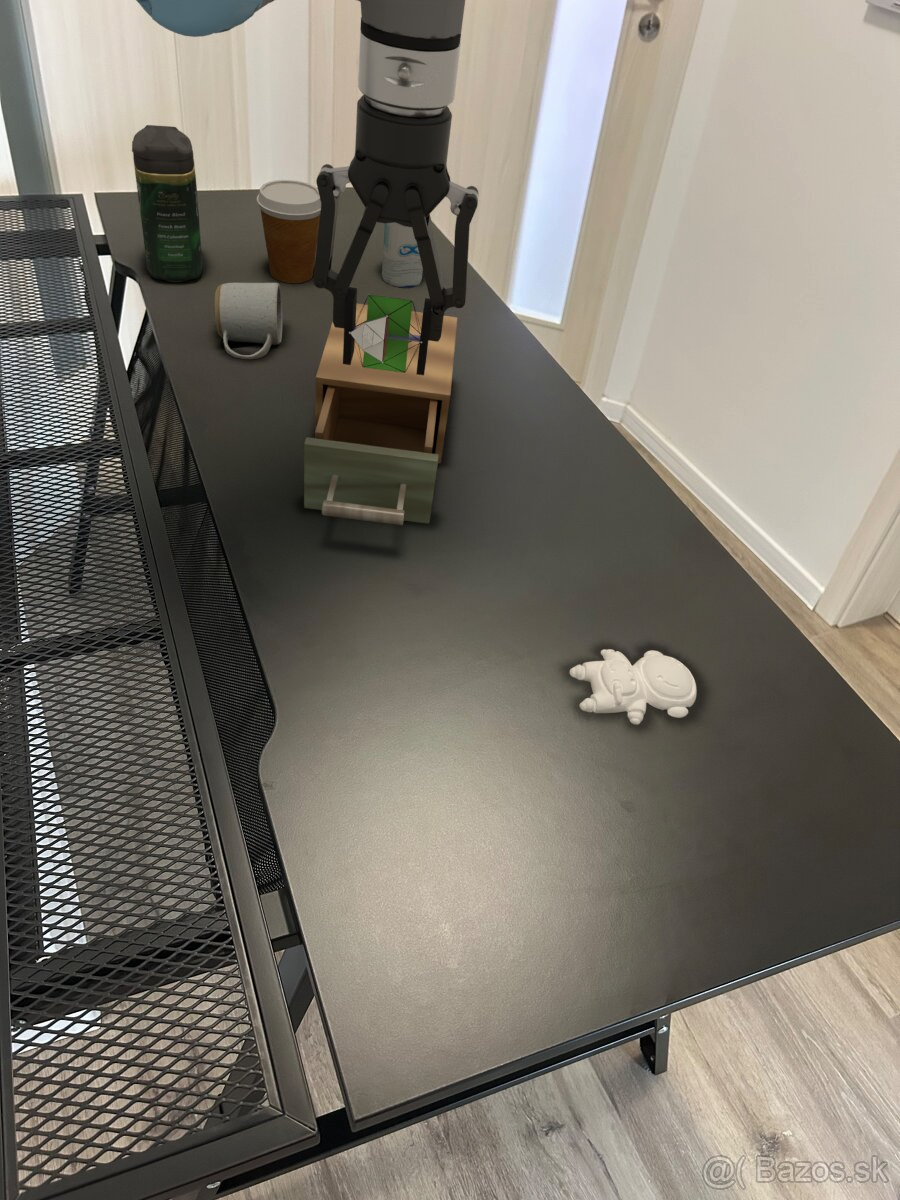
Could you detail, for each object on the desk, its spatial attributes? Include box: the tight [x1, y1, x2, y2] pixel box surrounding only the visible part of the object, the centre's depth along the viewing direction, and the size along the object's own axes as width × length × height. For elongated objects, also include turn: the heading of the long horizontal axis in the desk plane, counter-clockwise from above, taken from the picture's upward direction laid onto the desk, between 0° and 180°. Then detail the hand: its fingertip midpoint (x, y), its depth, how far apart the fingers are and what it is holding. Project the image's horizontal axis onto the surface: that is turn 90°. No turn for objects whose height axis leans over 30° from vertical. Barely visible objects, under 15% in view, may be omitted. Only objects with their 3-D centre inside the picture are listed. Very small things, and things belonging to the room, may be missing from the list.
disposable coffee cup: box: [256, 179, 321, 284], centre depth 124 cm, size 10×10×12 cm
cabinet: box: [314, 303, 458, 464], centre depth 102 cm, size 18×15×10 cm
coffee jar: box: [131, 124, 203, 283], centre depth 118 cm, size 10×8×19 cm
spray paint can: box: [381, 222, 424, 289], centre depth 125 cm, size 6×6×20 cm
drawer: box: [303, 385, 439, 526], centre depth 91 cm, size 22×13×8 cm, turn 177°
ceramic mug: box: [214, 282, 284, 360], centre depth 110 cm, size 11×8×8 cm
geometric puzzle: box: [349, 293, 422, 374], centre depth 81 cm, size 7×7×8 cm
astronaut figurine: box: [569, 648, 697, 725], centre depth 78 cm, size 9×12×3 cm
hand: (384, 362), depth 83 cm, fingers closed on geometric puzzle, 6 cm apart
